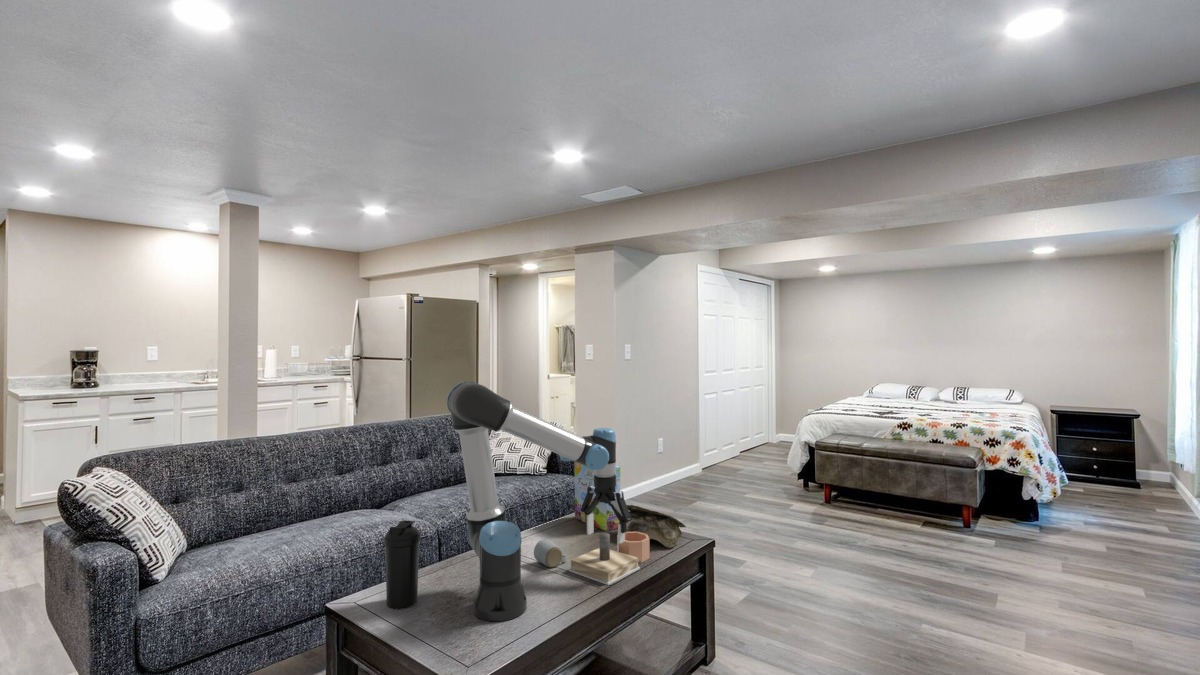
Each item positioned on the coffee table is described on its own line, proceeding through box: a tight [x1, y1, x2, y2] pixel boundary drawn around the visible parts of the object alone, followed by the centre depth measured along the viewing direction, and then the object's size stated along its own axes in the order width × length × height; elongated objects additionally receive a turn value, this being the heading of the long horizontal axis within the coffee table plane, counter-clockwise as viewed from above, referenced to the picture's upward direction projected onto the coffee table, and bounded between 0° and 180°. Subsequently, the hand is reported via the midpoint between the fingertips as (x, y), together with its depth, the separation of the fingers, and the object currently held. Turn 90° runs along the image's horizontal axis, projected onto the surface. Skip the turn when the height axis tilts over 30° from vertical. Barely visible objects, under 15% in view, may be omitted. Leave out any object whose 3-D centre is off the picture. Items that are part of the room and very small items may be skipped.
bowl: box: [616, 531, 651, 563], centre depth 204 cm, size 11×11×7 cm
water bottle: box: [383, 520, 422, 610], centre depth 167 cm, size 10×10×23 cm
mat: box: [568, 566, 641, 586], centre depth 192 cm, size 17×17×1 cm
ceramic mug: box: [533, 538, 568, 568], centre depth 198 cm, size 11×8×8 cm
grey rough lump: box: [626, 504, 687, 549], centre depth 222 cm, size 28×13×15 cm
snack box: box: [573, 461, 621, 532], centre depth 241 cm, size 22×9×26 cm, turn 41°
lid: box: [570, 532, 639, 582], centre depth 192 cm, size 16×16×11 cm
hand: (605, 537), depth 192 cm, fingers open, 13 cm apart
